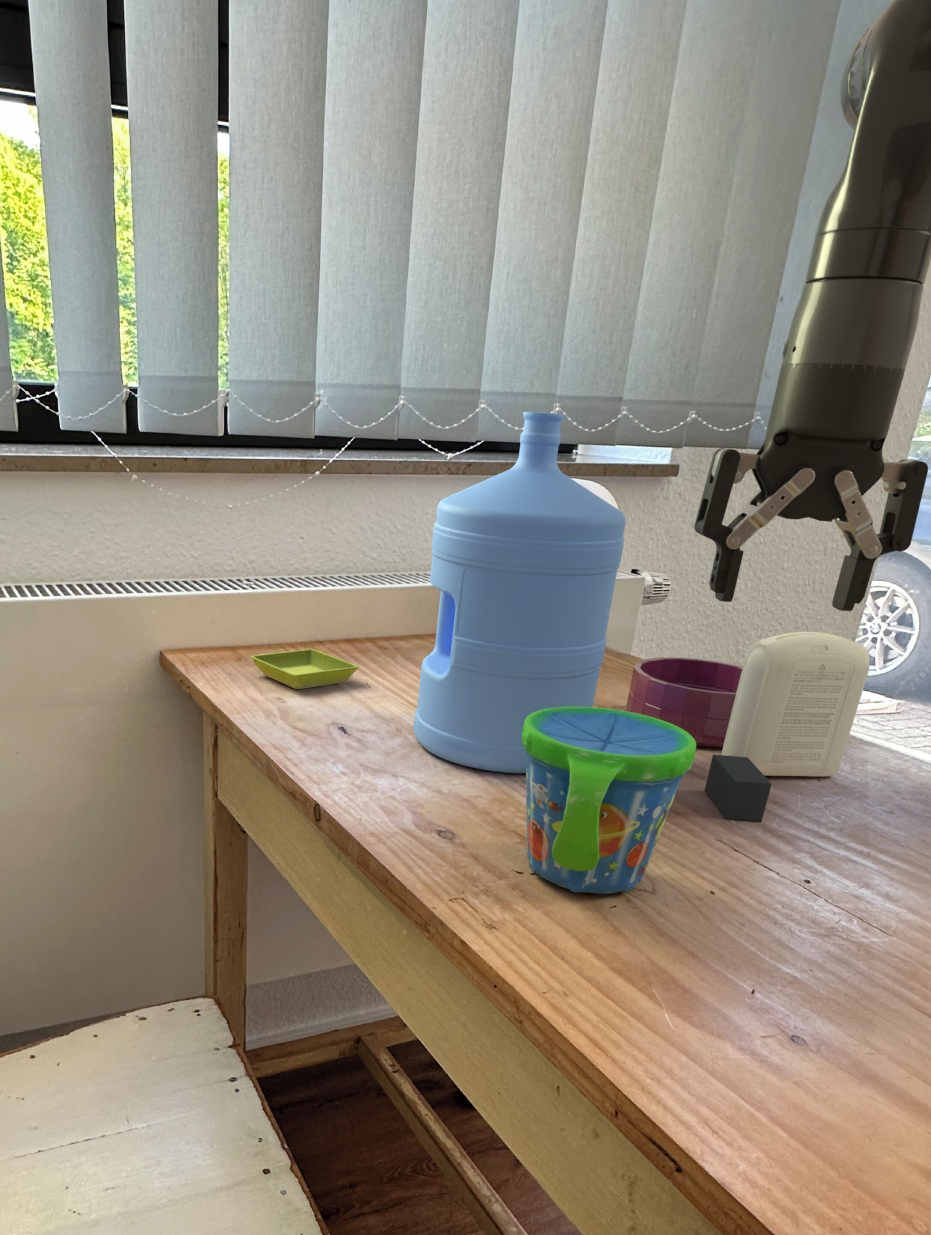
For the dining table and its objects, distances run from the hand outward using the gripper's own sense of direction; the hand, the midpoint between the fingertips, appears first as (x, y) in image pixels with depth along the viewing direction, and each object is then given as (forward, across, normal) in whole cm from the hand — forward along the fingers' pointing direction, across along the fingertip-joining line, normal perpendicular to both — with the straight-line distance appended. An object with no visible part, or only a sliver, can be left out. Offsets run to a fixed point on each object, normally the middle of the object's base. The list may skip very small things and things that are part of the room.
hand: (782, 604), depth 70 cm
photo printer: (+16, +6, +9) cm, 20 cm away
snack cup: (+16, -14, -16) cm, 27 cm away
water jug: (+16, -18, +9) cm, 26 cm away
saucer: (+16, -38, +26) cm, 49 cm away
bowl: (+16, +2, +20) cm, 26 cm away
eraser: (+16, 0, 0) cm, 16 cm away
